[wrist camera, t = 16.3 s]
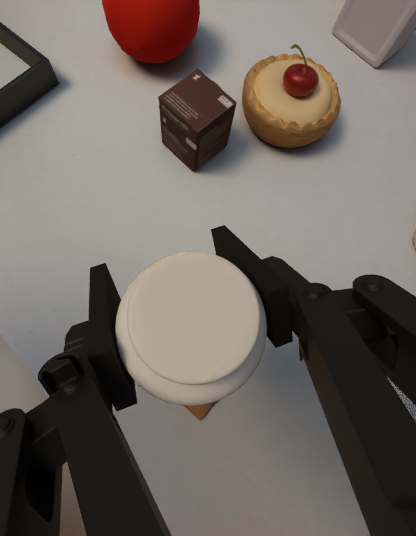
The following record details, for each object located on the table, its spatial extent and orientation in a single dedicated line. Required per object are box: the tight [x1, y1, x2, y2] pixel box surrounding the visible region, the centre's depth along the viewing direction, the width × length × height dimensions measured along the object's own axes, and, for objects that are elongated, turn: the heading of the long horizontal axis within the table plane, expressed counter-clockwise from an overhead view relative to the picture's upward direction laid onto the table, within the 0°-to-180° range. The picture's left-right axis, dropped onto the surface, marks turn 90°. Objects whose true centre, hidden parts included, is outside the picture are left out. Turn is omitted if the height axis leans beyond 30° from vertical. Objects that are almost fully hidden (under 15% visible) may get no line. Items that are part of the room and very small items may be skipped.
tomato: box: [102, 0, 200, 63], centre depth 39 cm, size 12×12×11 cm
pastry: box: [242, 44, 341, 148], centre depth 38 cm, size 12×12×9 cm
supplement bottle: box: [115, 251, 267, 406], centre depth 14 cm, size 6×6×10 cm
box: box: [159, 69, 236, 171], centre depth 37 cm, size 6×6×7 cm
